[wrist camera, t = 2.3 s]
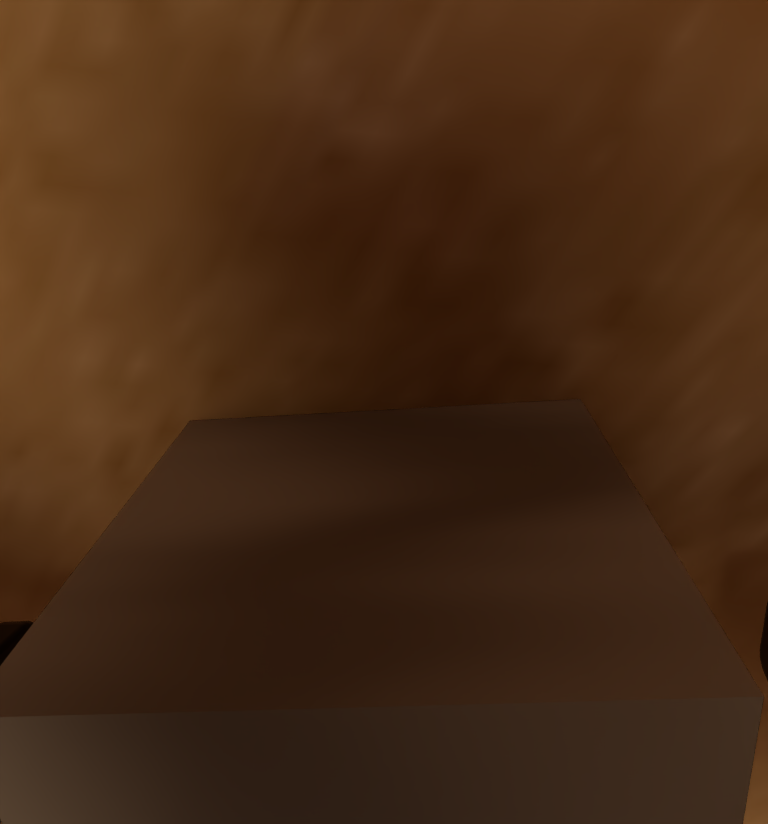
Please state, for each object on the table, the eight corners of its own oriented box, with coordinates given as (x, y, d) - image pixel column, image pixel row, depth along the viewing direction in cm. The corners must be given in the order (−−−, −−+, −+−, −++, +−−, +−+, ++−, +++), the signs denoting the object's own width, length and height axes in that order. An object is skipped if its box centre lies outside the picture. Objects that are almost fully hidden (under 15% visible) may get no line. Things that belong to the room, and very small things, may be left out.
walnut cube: (579, 396, 9) (764, 696, 4) (569, 701, 11) (688, 1144, 6) (191, 418, 9) (-42, 717, 4) (249, 709, 11) (127, 1134, 6)
